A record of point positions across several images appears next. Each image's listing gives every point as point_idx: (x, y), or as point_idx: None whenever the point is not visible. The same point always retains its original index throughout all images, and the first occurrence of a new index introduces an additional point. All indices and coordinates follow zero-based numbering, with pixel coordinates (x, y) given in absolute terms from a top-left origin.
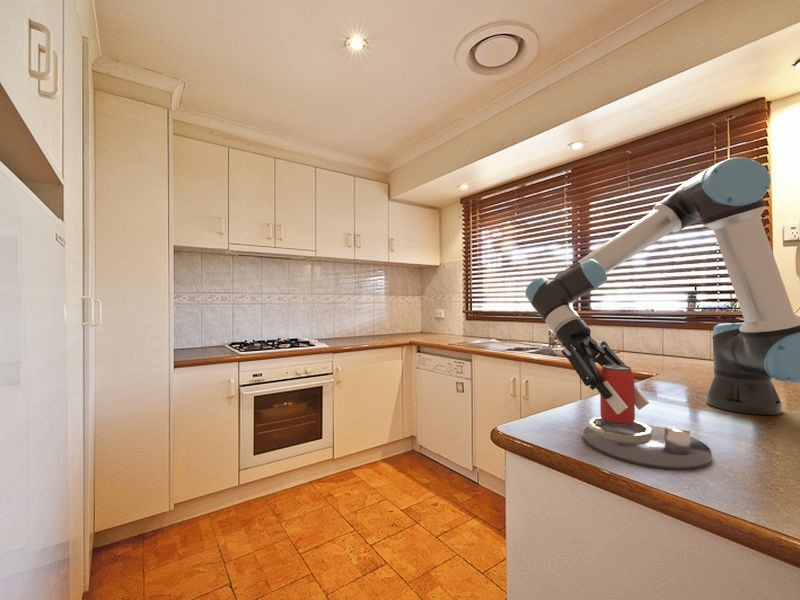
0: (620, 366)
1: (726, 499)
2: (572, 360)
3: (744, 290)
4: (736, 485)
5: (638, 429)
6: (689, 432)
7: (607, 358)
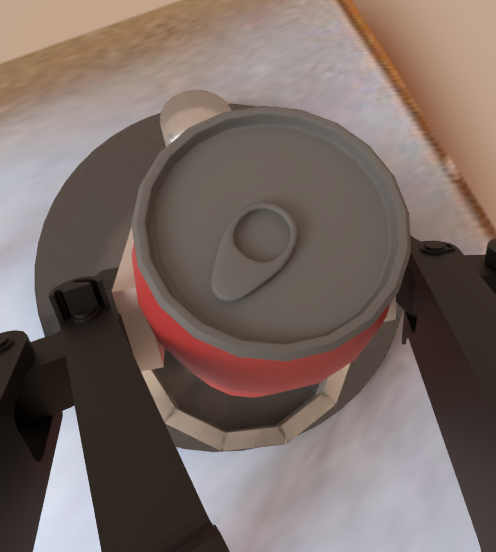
0: (163, 273)
1: (297, 29)
2: None
3: None
4: (221, 52)
5: None
6: (179, 95)
7: (154, 482)
